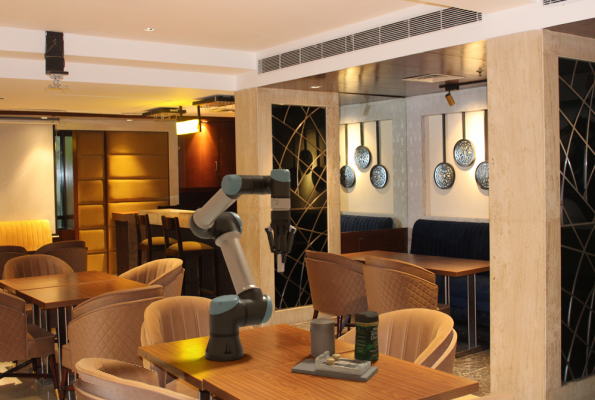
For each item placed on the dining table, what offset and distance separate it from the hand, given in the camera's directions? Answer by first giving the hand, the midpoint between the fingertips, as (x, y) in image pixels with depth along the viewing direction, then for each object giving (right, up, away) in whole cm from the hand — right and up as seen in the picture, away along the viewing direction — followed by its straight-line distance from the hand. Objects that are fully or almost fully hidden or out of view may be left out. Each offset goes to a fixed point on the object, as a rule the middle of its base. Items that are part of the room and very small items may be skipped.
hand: (280, 271), depth 219 cm
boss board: (+20, -34, -12) cm, 41 cm away
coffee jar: (+33, -35, +3) cm, 48 cm away
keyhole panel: (+23, -33, -14) cm, 42 cm away
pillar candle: (+16, -35, +9) cm, 39 cm away
